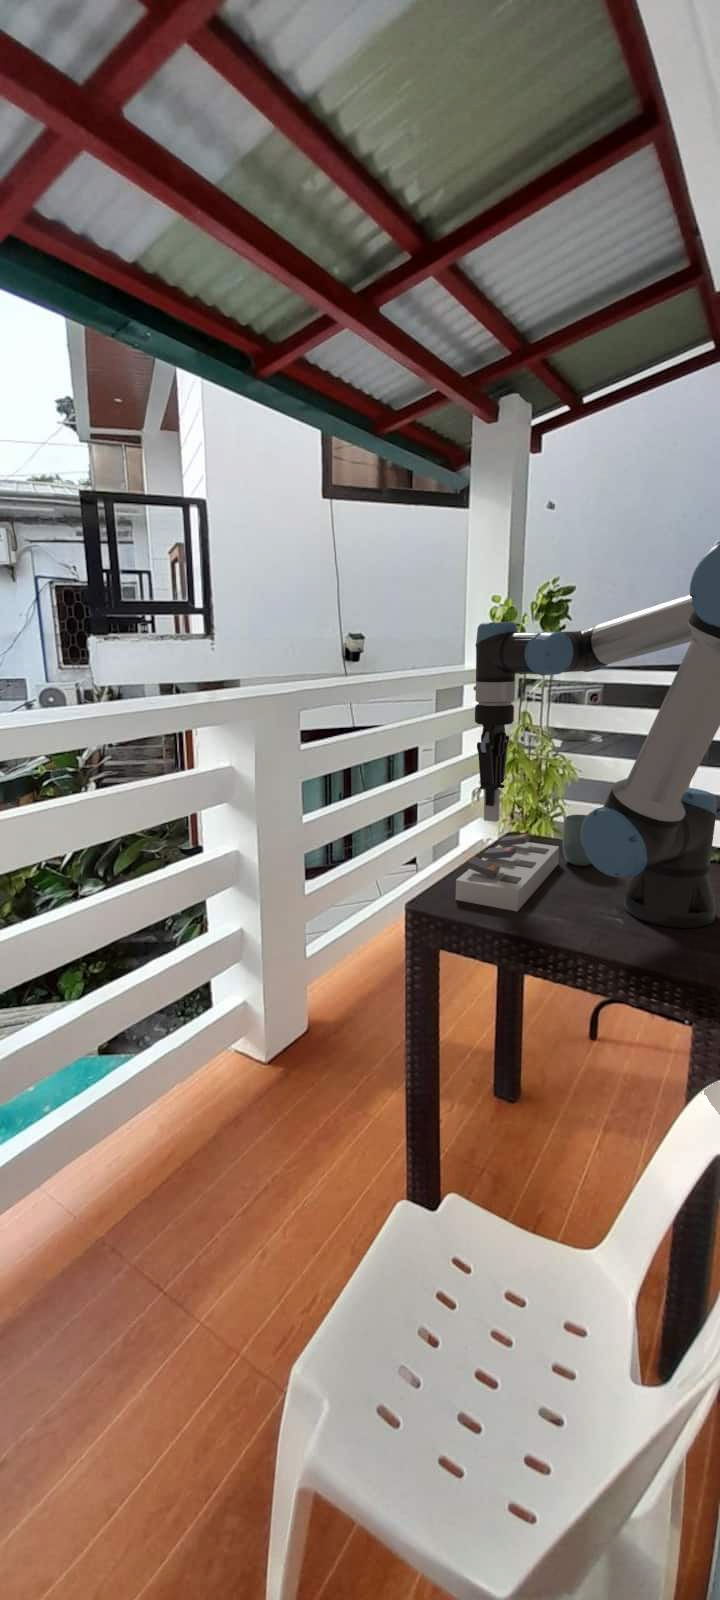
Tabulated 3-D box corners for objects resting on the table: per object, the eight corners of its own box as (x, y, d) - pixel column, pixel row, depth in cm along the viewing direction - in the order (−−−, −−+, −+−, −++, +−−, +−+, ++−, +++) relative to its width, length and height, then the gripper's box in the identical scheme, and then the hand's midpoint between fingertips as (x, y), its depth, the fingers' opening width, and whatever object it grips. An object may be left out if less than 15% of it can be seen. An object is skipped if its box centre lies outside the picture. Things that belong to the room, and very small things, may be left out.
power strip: (567, 853, 160) (568, 835, 159) (517, 911, 127) (518, 889, 126) (516, 845, 166) (517, 828, 165) (455, 899, 133) (456, 878, 132)
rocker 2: (516, 852, 143) (515, 846, 143) (510, 857, 140) (509, 851, 140) (490, 853, 146) (489, 847, 145) (484, 858, 143) (483, 852, 142)
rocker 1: (498, 872, 135) (500, 866, 134) (492, 878, 132) (494, 872, 131) (472, 861, 137) (474, 855, 137) (465, 867, 134) (467, 860, 134)
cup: (586, 871, 148) (590, 826, 146) (554, 862, 154) (557, 818, 151) (605, 863, 153) (608, 819, 151) (573, 855, 159) (576, 812, 156)
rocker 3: (529, 839, 151) (528, 833, 151) (525, 843, 148) (523, 837, 148) (505, 841, 154) (504, 835, 154) (500, 846, 151) (498, 840, 151)
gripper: (487, 700, 144) (484, 811, 149) (464, 705, 133) (462, 825, 138) (523, 701, 140) (519, 815, 146) (502, 707, 129) (499, 830, 135)
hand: (491, 820), depth 142 cm, fingers closed
